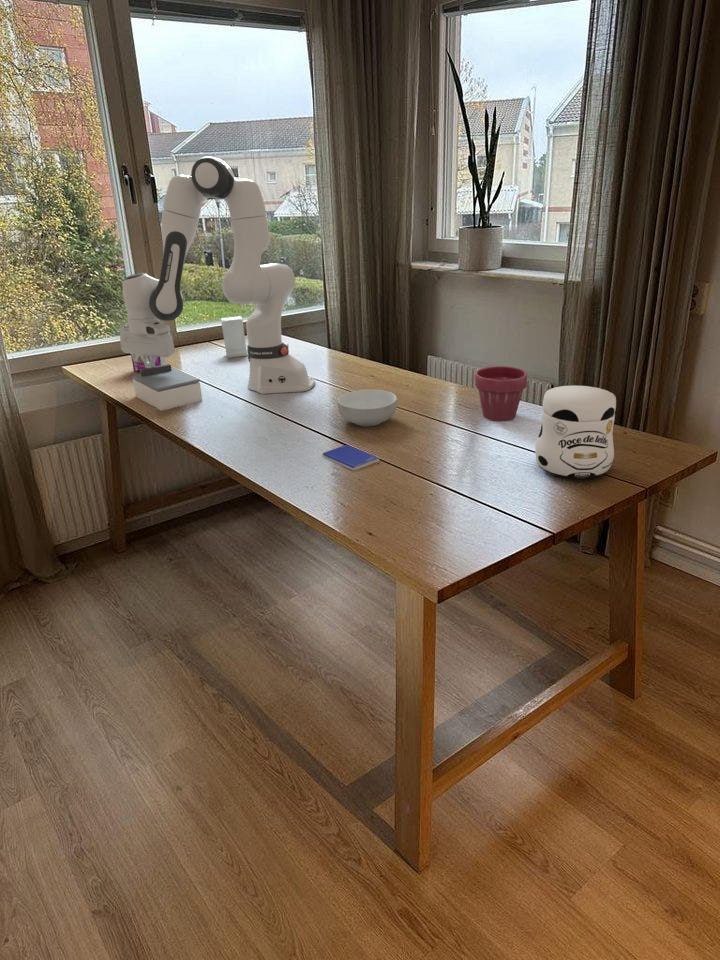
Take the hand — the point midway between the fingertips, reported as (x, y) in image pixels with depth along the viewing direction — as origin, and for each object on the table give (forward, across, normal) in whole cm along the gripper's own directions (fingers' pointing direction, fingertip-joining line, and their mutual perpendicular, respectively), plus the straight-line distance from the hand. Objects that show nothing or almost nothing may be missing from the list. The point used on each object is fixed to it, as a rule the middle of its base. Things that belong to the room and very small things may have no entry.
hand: (150, 367), depth 223 cm
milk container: (+9, +140, -14) cm, 140 cm away
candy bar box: (+8, -20, +20) cm, 30 cm away
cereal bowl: (+8, +81, -1) cm, 81 cm away
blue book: (+9, +88, -27) cm, 93 cm away
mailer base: (+8, +10, -5) cm, 14 cm away
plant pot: (+9, +114, +16) cm, 115 cm away
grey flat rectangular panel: (+2, +10, -5) cm, 12 cm away
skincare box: (+8, -2, +49) cm, 50 cm away
